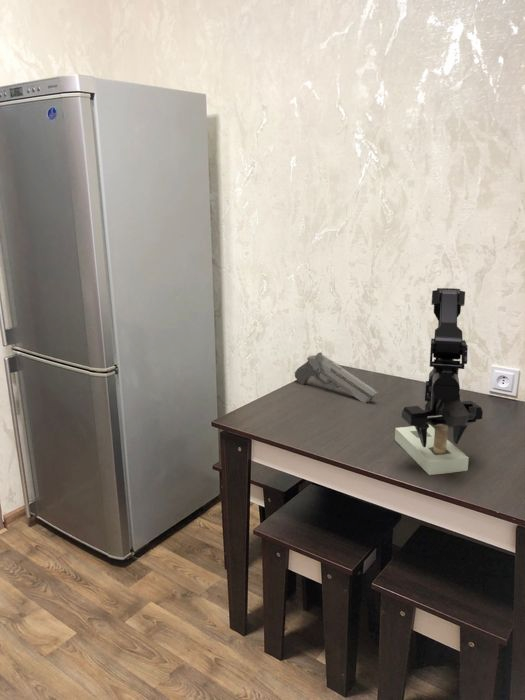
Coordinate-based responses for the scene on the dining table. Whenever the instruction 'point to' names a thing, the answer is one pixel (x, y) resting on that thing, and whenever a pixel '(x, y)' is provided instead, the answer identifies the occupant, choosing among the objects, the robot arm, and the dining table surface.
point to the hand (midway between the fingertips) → (439, 445)
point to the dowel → (440, 439)
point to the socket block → (431, 452)
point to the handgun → (334, 377)
